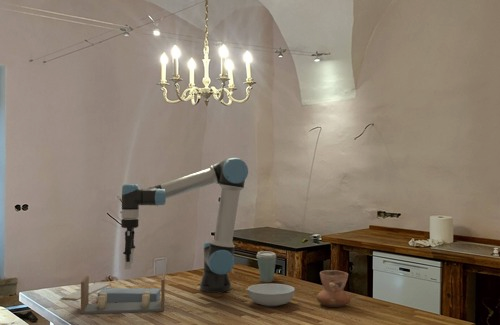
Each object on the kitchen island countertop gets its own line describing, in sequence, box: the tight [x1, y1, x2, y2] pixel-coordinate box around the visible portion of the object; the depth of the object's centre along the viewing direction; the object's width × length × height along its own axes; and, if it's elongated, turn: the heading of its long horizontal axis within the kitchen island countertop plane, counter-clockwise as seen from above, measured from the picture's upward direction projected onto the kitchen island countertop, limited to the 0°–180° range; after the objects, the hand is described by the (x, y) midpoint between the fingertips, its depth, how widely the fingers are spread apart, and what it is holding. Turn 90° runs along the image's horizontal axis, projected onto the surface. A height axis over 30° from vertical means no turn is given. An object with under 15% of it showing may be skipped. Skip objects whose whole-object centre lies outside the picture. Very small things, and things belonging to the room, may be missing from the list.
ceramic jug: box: [316, 269, 351, 308], centre depth 226 cm, size 18×14×14 cm
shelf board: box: [97, 287, 161, 303], centre depth 231 cm, size 9×26×4 cm, turn 90°
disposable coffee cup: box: [256, 250, 277, 283], centre depth 271 cm, size 11×11×15 cm
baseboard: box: [59, 279, 111, 301], centre depth 246 cm, size 30×3×10 cm
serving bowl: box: [247, 283, 296, 307], centre depth 227 cm, size 21×21×7 cm
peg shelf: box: [80, 273, 166, 315], centre depth 217 cm, size 12×33×13 cm, turn 99°
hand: (129, 266), depth 231 cm, fingers open, 13 cm apart
